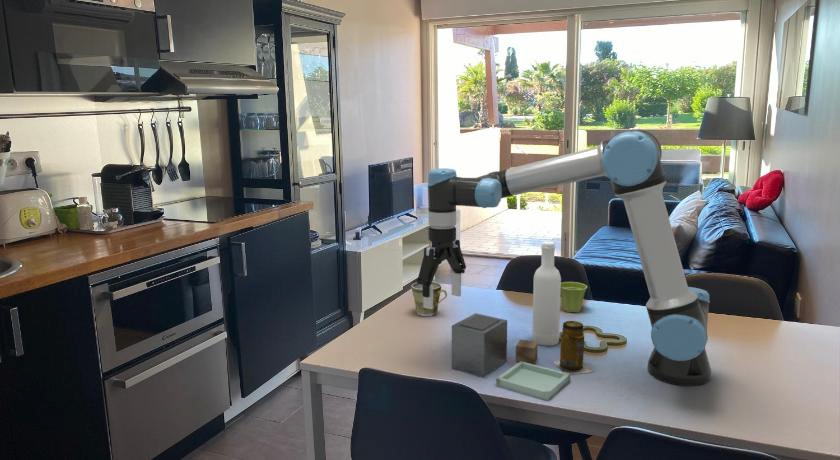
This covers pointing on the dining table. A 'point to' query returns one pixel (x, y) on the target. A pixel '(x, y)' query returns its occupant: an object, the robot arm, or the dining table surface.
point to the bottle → (546, 299)
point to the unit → (479, 344)
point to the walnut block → (527, 351)
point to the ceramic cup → (418, 298)
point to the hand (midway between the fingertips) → (442, 301)
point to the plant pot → (572, 296)
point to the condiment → (572, 349)
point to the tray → (533, 380)
